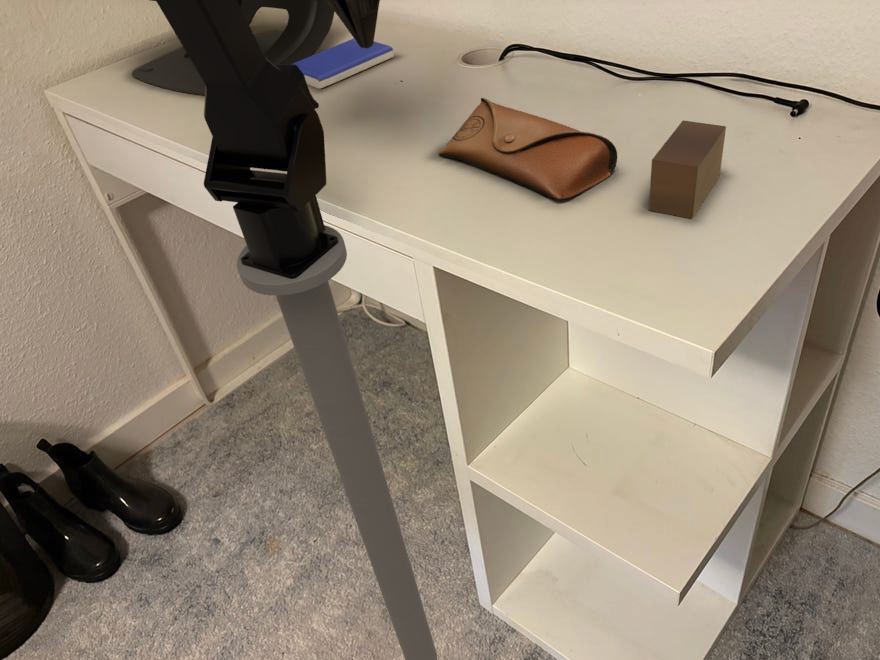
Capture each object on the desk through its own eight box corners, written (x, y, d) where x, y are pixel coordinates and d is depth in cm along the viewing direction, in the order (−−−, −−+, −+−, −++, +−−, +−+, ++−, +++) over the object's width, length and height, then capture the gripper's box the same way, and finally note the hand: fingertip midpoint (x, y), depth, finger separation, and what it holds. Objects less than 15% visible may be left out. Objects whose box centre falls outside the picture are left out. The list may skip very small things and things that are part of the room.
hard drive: (355, 35, 105) (283, 65, 99) (392, 46, 100) (318, 78, 94) (358, 47, 106) (286, 77, 100) (394, 57, 101) (321, 90, 95)
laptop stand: (354, 40, 108) (329, -80, 97) (233, 105, 94) (189, -27, 84) (235, 23, 120) (202, -86, 109) (113, 78, 106) (61, -41, 96)
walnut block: (692, 219, 65) (697, 166, 61) (648, 210, 66) (651, 159, 63) (719, 176, 70) (726, 125, 66) (678, 169, 71) (682, 119, 68)
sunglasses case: (430, 152, 78) (446, 87, 76) (474, 160, 83) (490, 99, 81) (563, 202, 68) (587, 129, 66) (603, 208, 73) (626, 140, 71)
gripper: (473, -163, 63) (489, 27, 74) (309, -157, 72) (344, 13, 82) (398, -136, 57) (427, 69, 67) (226, -134, 65) (276, 48, 75)
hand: (367, 46), depth 73 cm, fingers closed
